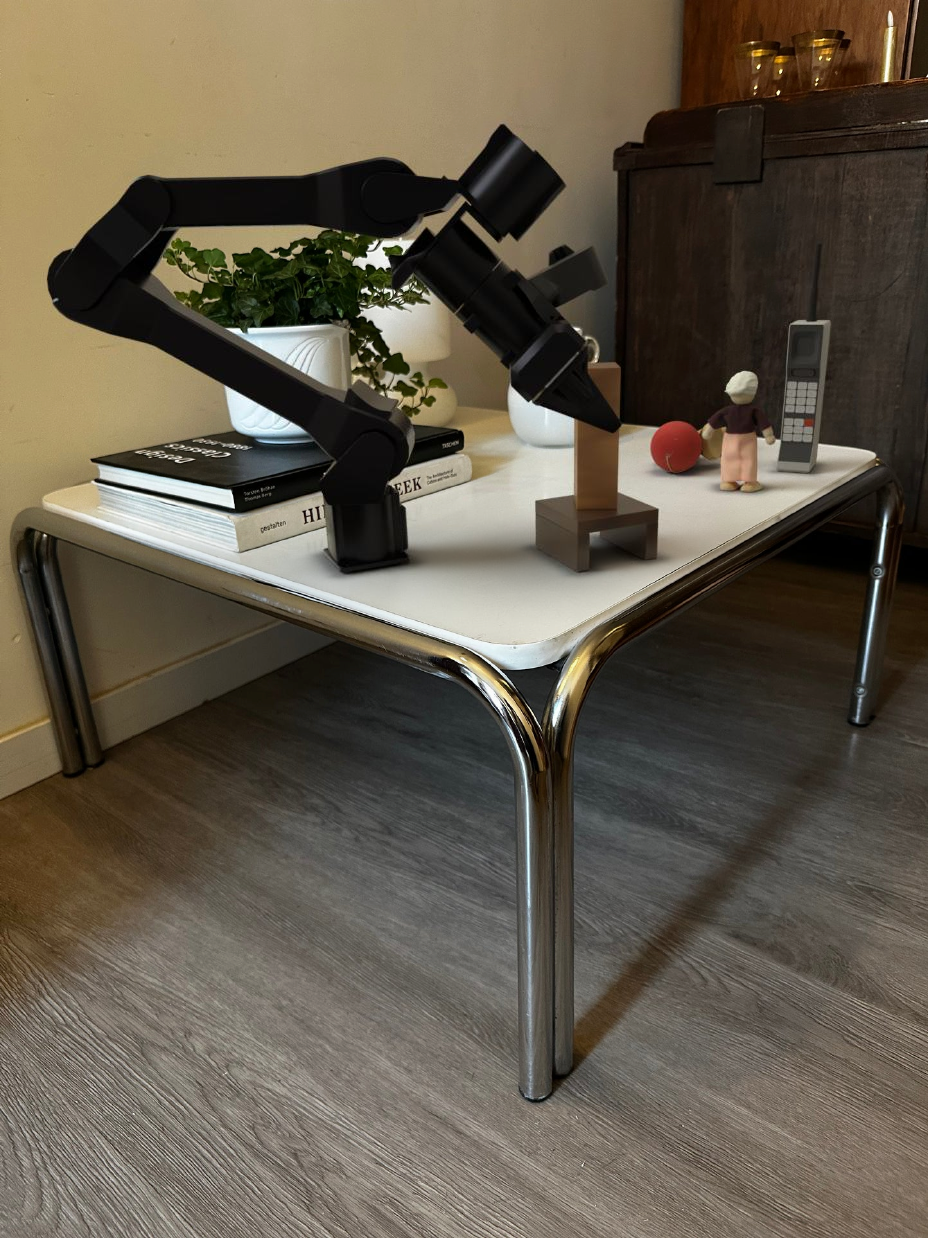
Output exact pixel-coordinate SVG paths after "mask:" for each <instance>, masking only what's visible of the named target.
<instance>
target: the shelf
mask: <svg viewBox="0 0 928 1238" xmlns="http://www.w3.org/2000/svg"><path fill="white" fill-rule="evenodd" d="M534 509H535V510H534V512H535V520H534V521H535V548H536V549H538V550H539V551H541V552H543V553H545V554H547V555H548V556H550V557H551V558H553V559H554V560H556V561H558V562H560V563H561V564H563V565H565V566H566V567H568V568H570V569H572V570H573V571H574V572H577V573H580V572H587V571H590V540H591V539H590V538H591V536H590V535H591V534H593V533H599V537H600V538H601V539H603V540H605V541H607V542H609V543H611V544H613V545H615V546H617V547H619V548H621V549H623V550H624V551H626V552H629V553H631V554H633V555H634V556H637V557H639V558H641V559H643V560H645V561H647V560H648V561H649V560H652V559H658V544H659V543H658V540H659V514H660V509H659V508H658V507H655V506H653V505H650V504H648V503H645V502H644V501H641V500H638V499H636V498H633V497H631V496H629V495H626V494H624V493H621V492H619V491H618V501H617V509H595V510H577V508H576V505H575V502H574V494H570V495H562V496H556V497H549V498H543V499H536V500H534Z"/></svg>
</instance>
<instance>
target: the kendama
mask: <svg viewBox="0 0 928 1238" xmlns="http://www.w3.org/2000/svg"><path fill="white" fill-rule="evenodd" d="M707 424H708V423H706V424H704V426H702V428H701V429H699V430H697V428H695V427H694V426H693V425H692V424H690V423H688V422H685V421H680V420H673V421H669V422H667V423H666V422H665V423H664V424H663V425H661V426H660V427H659V428H657V430H656V431H655V432H654V434H653V436H651V441H650V444H649V446H650V455H651V458H652V460H653V462H654V463H655V465H657V466H658V467H659V468H660V469H661V470H663V471H666V472H669V473H674V474H680V473H681V472H685V471H687V470H689V469H691V468H692V467H694V465H695V464H696V463H697V462H698V461H699V459H700V457H701V456H702V457H703V458H704V459H705V460H707V461H716V460H718V459H719V458H721V455H722V444H723V437H724V433H725V431H726V427H723V428H719V429H716V430H715V431H714V432H713V433H712V437H711V438H710V439H704V438H703V436H702V434H703V432H704V431H705V430H706V426H707Z"/></svg>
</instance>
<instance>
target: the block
mask: <svg viewBox="0 0 928 1238" xmlns="http://www.w3.org/2000/svg"><path fill="white" fill-rule="evenodd" d="M588 373H589V375H590V377H591V378H592V380H593V381H594V383H595V384H596V385H597V387H598V388H599V390H600V391H601V393H602V394H603V396H604V397H605V399H606V400H607V402H608V403H609V405H610V406H611V408H612V409H613V411H614V412H615V414H616V415H617V417H618V418H619V419H620V418H621V417H620V415H621V412H620V410H621V377H622V375H621V373H622V369H621V366H620V365H619V364H617V362H616V361H612V362H610V361H609V362H608V361H607V362H588ZM573 427H574V428H573V434H574V435H573V495H574V502H575V505H576V508H577V510H595V509H617V501H618V492H619V456H620V455H619V454H620V428H619V429H618V430H617V431H616V432H615V433H609V432H607V431H604V430H602V429H599V428H597V427H594V426H592V425H589V424H587V423H584V422H581V421H579V420H576V419H573Z"/></svg>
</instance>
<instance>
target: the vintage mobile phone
mask: <svg viewBox="0 0 928 1238" xmlns="http://www.w3.org/2000/svg"><path fill="white" fill-rule="evenodd" d="M822 247H823V244H822V243H821V242H817V243H816V244H815V251H814V260H813V261H814V262H813V273H812V282H811V287H810V291H809V292H810V293H809V301H808V302H809V303H808V310H807V311H808V313H807V317H806V319H798V320H795V321H793V322H791V323H790V324H789V327H788V337H787V339H788V340H787V352H786V363H785V364H786V365H785V385H784V386H785V387H784V397H783V407H782V419H781V420H782V421H781V432H780V440H779V441H780V442H779V449H778V454H777V462H776V470H777V471H778V472H785V473H786V472H788V473H798V474H799V473H802V474H809V473H810V471H811V470H812V469H813V467H814V466H815V465H816V463H817V460H818V459H817V458H818V449H819V440H820V430H821V422H822V421H821V420H822V412H823V404H824V395H825V394H824V393H825V384H826V374H827V363H828V355H829V354H828V353H829V347H830V335H831V326H832V323H831V320H830V319H818V317H817V310H818V309H817V308H818V299H819V277H820V267H821V257H822Z"/></svg>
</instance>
